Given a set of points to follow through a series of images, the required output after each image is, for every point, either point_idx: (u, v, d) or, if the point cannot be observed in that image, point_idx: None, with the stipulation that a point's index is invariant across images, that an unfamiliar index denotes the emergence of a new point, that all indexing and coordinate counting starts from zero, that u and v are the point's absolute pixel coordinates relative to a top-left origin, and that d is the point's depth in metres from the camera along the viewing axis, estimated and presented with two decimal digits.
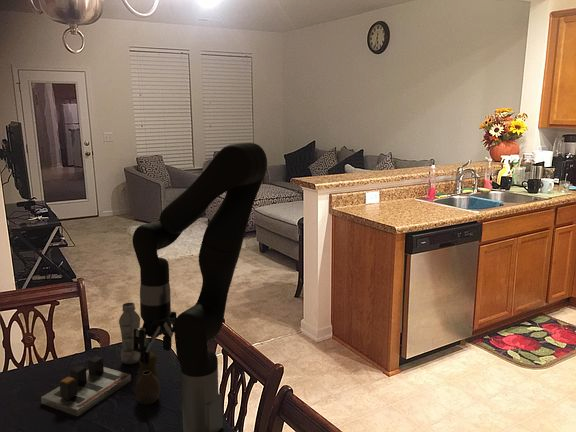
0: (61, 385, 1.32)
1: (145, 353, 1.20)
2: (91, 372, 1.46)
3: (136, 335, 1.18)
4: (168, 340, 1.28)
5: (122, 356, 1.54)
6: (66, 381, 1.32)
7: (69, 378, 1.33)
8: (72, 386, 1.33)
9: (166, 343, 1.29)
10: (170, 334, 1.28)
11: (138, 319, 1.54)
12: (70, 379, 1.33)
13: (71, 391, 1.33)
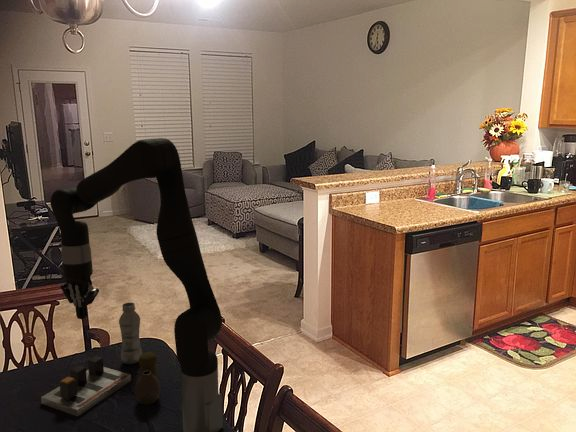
0: (61, 385, 1.32)
1: None
2: (91, 372, 1.46)
3: (93, 295, 1.32)
4: None
5: (122, 356, 1.54)
6: (66, 381, 1.32)
7: (69, 378, 1.33)
8: (72, 386, 1.33)
9: None
10: None
11: (138, 319, 1.54)
12: (70, 379, 1.33)
13: (71, 391, 1.33)
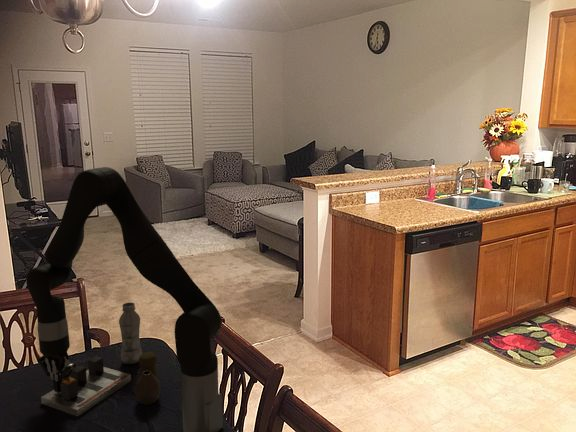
0: (62, 385, 1.32)
1: None
2: (91, 372, 1.46)
3: (69, 370, 1.31)
4: None
5: (122, 356, 1.54)
6: (67, 381, 1.32)
7: (70, 378, 1.33)
8: (73, 386, 1.33)
9: None
10: None
11: (138, 319, 1.54)
12: (71, 379, 1.33)
13: (72, 392, 1.32)
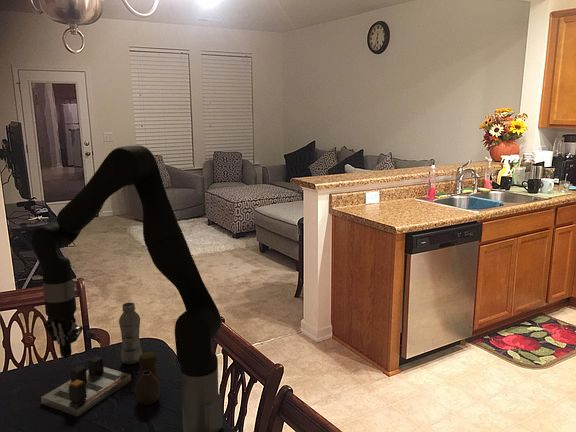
0: (70, 388, 1.31)
1: None
2: (91, 372, 1.46)
3: (76, 333, 1.28)
4: None
5: (122, 356, 1.54)
6: (75, 384, 1.31)
7: (78, 381, 1.32)
8: (81, 389, 1.31)
9: None
10: None
11: (138, 319, 1.54)
12: (79, 382, 1.32)
13: (80, 394, 1.31)
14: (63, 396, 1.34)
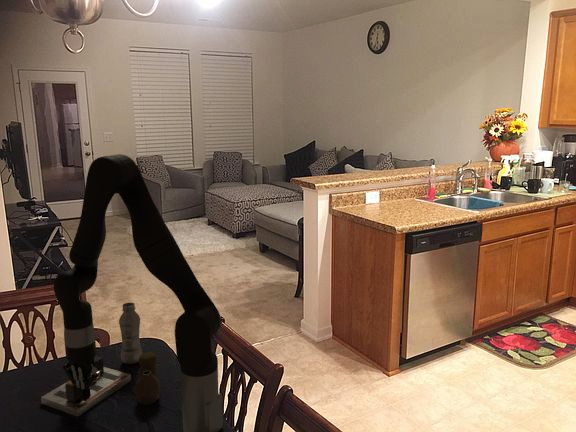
0: (67, 387, 1.31)
1: None
2: None
3: (96, 378, 1.27)
4: None
5: (122, 356, 1.54)
6: None
7: None
8: None
9: None
10: None
11: (138, 319, 1.54)
12: None
13: (77, 393, 1.32)
14: (63, 396, 1.34)
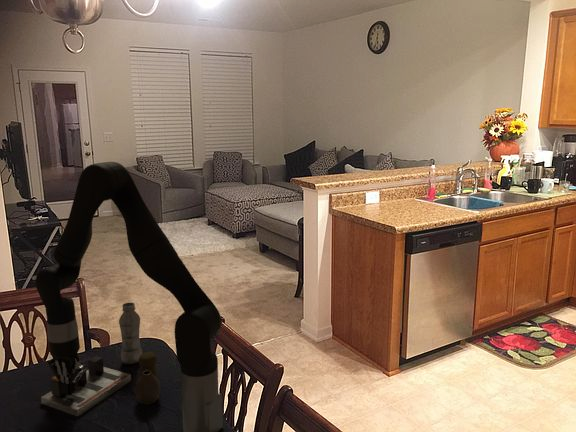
0: (52, 382, 1.34)
1: None
2: (91, 372, 1.46)
3: (80, 372, 1.30)
4: None
5: (122, 356, 1.54)
6: None
7: None
8: None
9: None
10: None
11: (138, 319, 1.54)
12: None
13: (62, 388, 1.34)
14: (63, 396, 1.34)
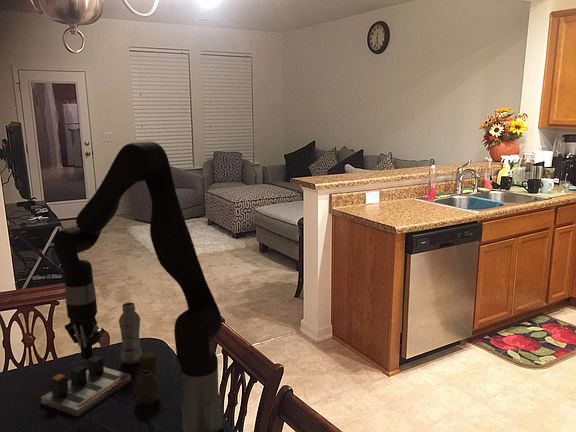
0: (52, 382, 1.34)
1: None
2: (91, 372, 1.46)
3: (98, 335, 1.29)
4: None
5: (122, 356, 1.54)
6: (57, 378, 1.33)
7: (60, 375, 1.35)
8: (63, 383, 1.34)
9: None
10: None
11: (138, 319, 1.54)
12: (61, 376, 1.34)
13: (62, 388, 1.34)
14: (63, 396, 1.34)
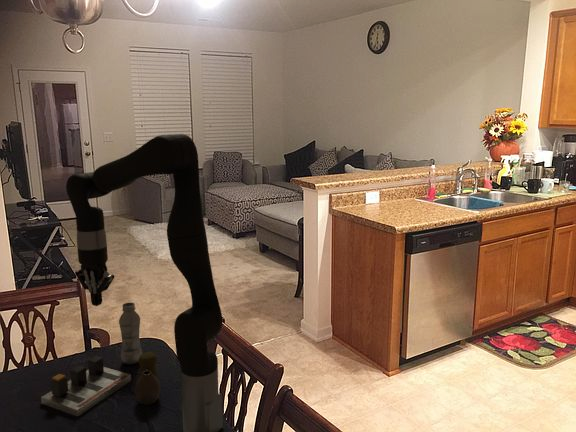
0: (52, 382, 1.34)
1: None
2: (91, 372, 1.46)
3: (108, 281, 1.31)
4: None
5: (122, 356, 1.54)
6: (57, 378, 1.33)
7: (60, 375, 1.35)
8: (63, 383, 1.34)
9: None
10: None
11: (138, 319, 1.54)
12: (61, 376, 1.34)
13: (62, 388, 1.34)
14: (63, 396, 1.34)
